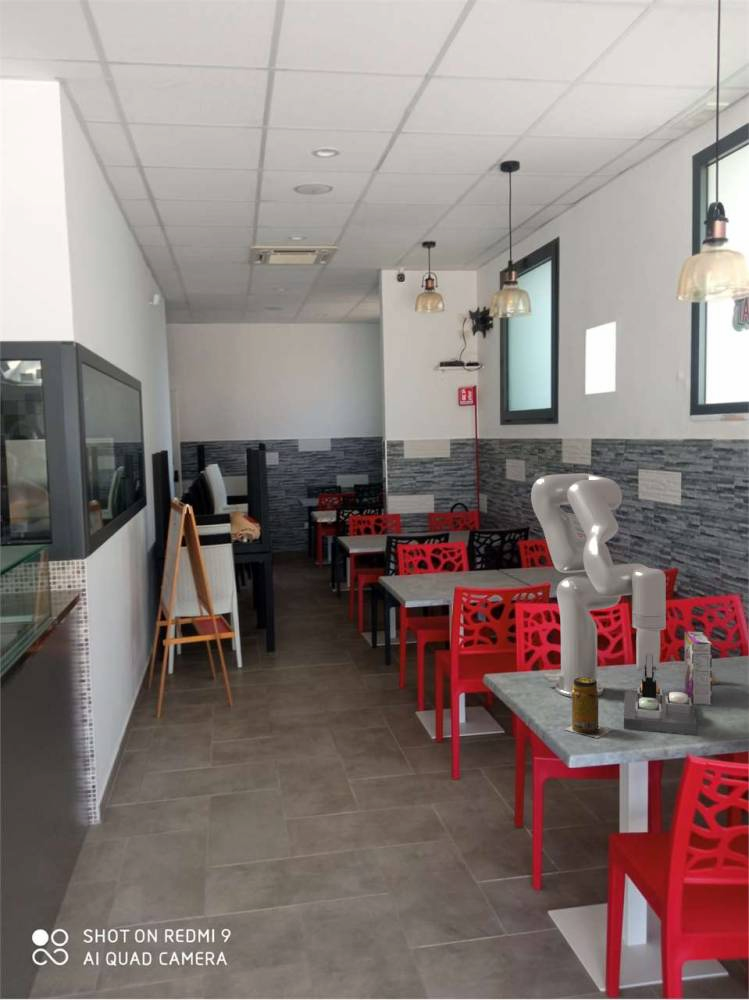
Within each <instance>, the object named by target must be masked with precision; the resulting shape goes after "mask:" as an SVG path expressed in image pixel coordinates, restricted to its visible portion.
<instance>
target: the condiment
mask: <svg viewBox="0 0 749 1000" xmlns="http://www.w3.org/2000/svg"><path fill="white" fill-rule="evenodd" d="M597 683H598V681H597V682H596V680H595V679H592V678H588V677H578V678H576V679H574V689H573V691H572V697H571V724H572V725H570V726H569V727H566V728H564V730H566V731H569V732H570V733H571V732H572V733H575V734H578V735H579V734H580V735H585V736H588V737H593V738H597V739H598V738H600V737H602V736H604V735H607V734H608V733H609V732H610V731H612V730H613V729H612V728H608V727H604V726H601V725H599V716H600V715H599V696H598V692H597V686H596V684H597ZM599 727H600V728H599ZM598 728H599V729H600V730H601V731H600V730H598Z"/></svg>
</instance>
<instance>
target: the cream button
mask: <svg viewBox="0 0 749 1000" xmlns="http://www.w3.org/2000/svg"><path fill="white" fill-rule="evenodd" d="M668 695H669V703H673V704H686V705H687V704H688V695H687V693H686V692H681V691H671V692H669V694H668Z"/></svg>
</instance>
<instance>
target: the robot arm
mask: <svg viewBox="0 0 749 1000" xmlns="http://www.w3.org/2000/svg"><path fill="white" fill-rule="evenodd" d="M530 500H531V501H530V502H531V505H532V509H533V513H534V514H535V515H536V518H537V520H538V521H539V524H540V526H541V528H542V531H543V533H544V534H543V535H544V537H545V541H546V544H547V548H548V552H549V554H550V558H551V561H552V564H553V566H554V568H555V570H556V571H558V572H560V573H563V574H570V573H581V572H582V573H583V572H584V573H586V574H580V575H574V576H573V575H572V576H569V577H565V578H564V579H562V580H561V581H560V582H559V583H558V585H557V588H556V599H557V604H558V609H559V617H560V618H559V619H560V670H559V672H556V673H551V672H550V673H548V672H545V673H544V681H547V682H548V683H555V685H554V688H555V689H554V690H555V692H557V693H558V694H560V695H562V696H565V697H569V698H570V697H571V698H572V691H573V689H574V679H576V678H578V677H588V678H592V679H595V680H596V682H597V684H596V686H597V692H598V697H599V696H601V695H602V694H603V693H604V687H603V686H602V685H601V684H599V683H598V630H597V629H598V627H597V624H596V621H595V620H594V618H593V617H592V615H591V614H590V611H594V610H601V609H602V610H604V609H609V608H613V607H615V606H617V605H618V603H619V602H620V601H621V597H622V596H629V595H630V596H631V611H632V612H631V614H632V615H631V617H632V618H631V619H632V621H631V623H632V624H631V627H632V628H634V629H636V634H635V635H636V637H635V639H636V640H635V645H636V646H635V650H636V656H635V657H636V659H635V660H636V662H635V663H636V670H637V671H638V672H640V671H642V679H641V683H642V697H644V698H656V684H657V680H656V673H657V672H658V671H659V668H660V658H661V631H663V630H666V628H667V625H666V623H667V622H666V621H667V620H666V619H667V618H666V617H667V616H666V613H667V611H666V608H667V605H666V602H667V601H666V599H667V598H666V597H667V595H666V594H667V593H666V590H667V588H666V587H667V586H666V581H667V578H666V574H665V572H664V571H663V570H661V569H659V568H653V567H651V568H650V567H648V566H646V565H644V564H641V563H637V562H635V563H633V562H632V563H623V564H622V563H621V564H614V562H613V559H612V556H611V554H610V553H611V552H610V550H609V548H608V546H607V544H606V542H608V541H609V540H610V539H612V538H614V537H615V536H616V534H617V533H618V531H619V523H618V521H617V520H616V518H615V516H614V514H613V512H612V511H613V510H616V509H618V508H619V506H621V503H622V500H623V493H622V489H621V488H620V486H619V485H618V484H617V482H616V481H614V480H613V479H611V478H609V477H608V478H607V477H603V476H599V475H595V474H592V473H586V472H581V473H559V474H558V473H557V474H547V475H544V476H541V477H539V478H538V479H536V481H534V483H533V484H532V488H531V493H530ZM564 505H569V506H570V507H571V509H572V510H573V513H574V515H575V517H576V519H577V521H578V523H579V525H580V528H581V529H582V532H583V533H584V535H585V536H579V535H578V533H577V530H576V527H575V523H574V521H573V520H572V518H571V516H570V515H569V514H568V513H567V512H566V511H564V510H563V508H561V506H564Z"/></svg>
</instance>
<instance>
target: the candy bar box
mask: <svg viewBox="0 0 749 1000" xmlns="http://www.w3.org/2000/svg"><path fill="white" fill-rule="evenodd" d="M712 645H713V644H712V642H711V641H710V639H709V638H708V637H707V636H706V633H704V631H703V632H702V631H684V691H685V694H687V695H688V696H690V697H691V699H692V704H693V705H702V706H712V701H713V700H712V697H713V695H712V688H713V685H712V671H713V670H712V668H713V667H712V666H713V664H712V663H713V662H712V660H713V658H712V655H713V654H712V652H713V651H712Z"/></svg>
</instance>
